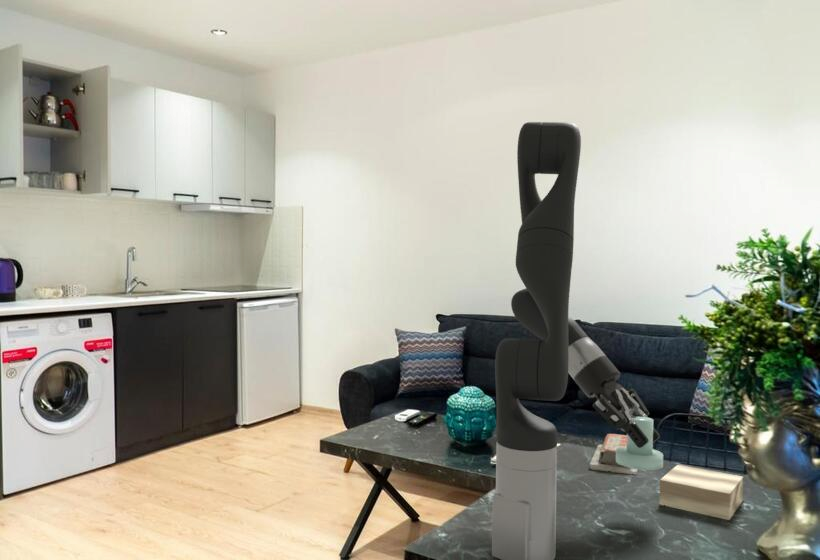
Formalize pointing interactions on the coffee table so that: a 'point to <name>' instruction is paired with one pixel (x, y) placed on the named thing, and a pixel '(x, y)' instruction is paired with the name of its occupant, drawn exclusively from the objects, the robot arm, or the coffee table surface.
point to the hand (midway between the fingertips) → (650, 442)
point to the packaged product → (610, 455)
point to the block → (702, 491)
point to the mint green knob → (640, 449)
